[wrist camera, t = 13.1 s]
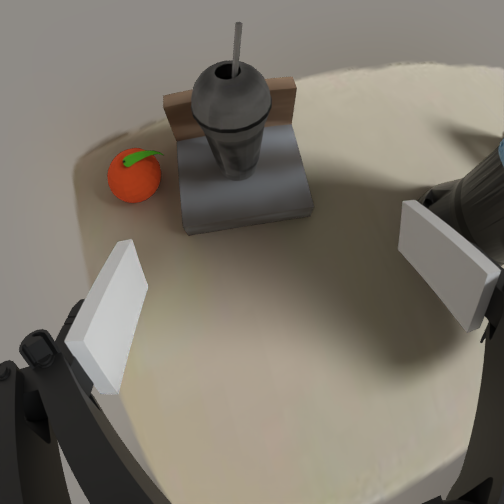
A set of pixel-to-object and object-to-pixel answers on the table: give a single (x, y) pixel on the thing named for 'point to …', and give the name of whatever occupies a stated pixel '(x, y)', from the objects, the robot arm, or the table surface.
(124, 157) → the clementine
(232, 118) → the beverage cup
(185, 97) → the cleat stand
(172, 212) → the table surface
